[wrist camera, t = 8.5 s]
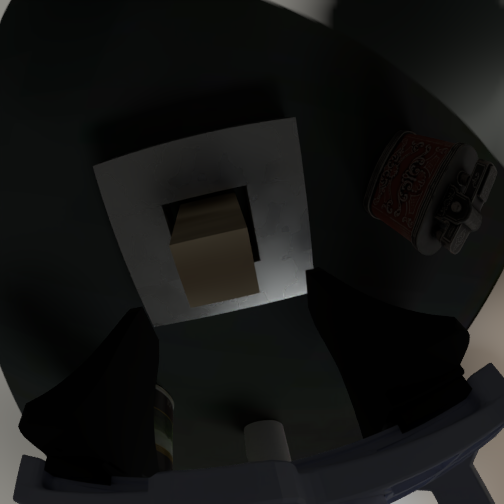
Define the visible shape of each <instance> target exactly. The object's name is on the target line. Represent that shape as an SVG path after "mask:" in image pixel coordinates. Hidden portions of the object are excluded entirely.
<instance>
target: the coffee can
mask: <svg viewBox="0 0 504 504" xmlns="http://www.w3.org/2000/svg"><path fill="white" fill-rule="evenodd" d="M173 410H174V402H173V399H172V397H171V396H170V395H169V394H168V393H167V392H166V391H165V390H164V389H163V388H162V387H160V386H159V385H157V384H156V388H155V397H154V432H155V444H156V452H157V460H158V466H159V471H160V472H165V471H173V460H172V436H173Z"/></svg>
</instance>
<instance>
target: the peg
mask: <svg viewBox="0 0 504 504" xmlns="http://www.w3.org/2000/svg"><path fill="white" fill-rule="evenodd" d="M169 246H170V250H171V253H172V256H173V259H174V262H175V265H176V268H177V271H178V274H179V277H180V279H181V282H182V285H183V288H184V291H185V294H186V296H187V299H188V302H189V305H190V307H191V308H193V307H198V306H203V305H207V304H212V303H217V302H222V301H226V300H231V299H235V298H240V297H244V296H249V295H253V294H258V293H260V290H259V285H258V280H257V275H256V270H255V265H254V260H253V255H252V250H251V244H250V239H249V234H248V229H247V226H246V223H245V220H244V217H243V214H242V212H241V209H240V206H239V203H238V200H237V198H236V195H235V192H232V193H228V194H223V195H219V196H214V197H210V198H206V199H201V200H197V201H193V202H189V203H184V204H180V207H179V211H178V214H177V218H176V222H175V225H174V229H173V233H172V236H171V240H170V244H169Z"/></svg>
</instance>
